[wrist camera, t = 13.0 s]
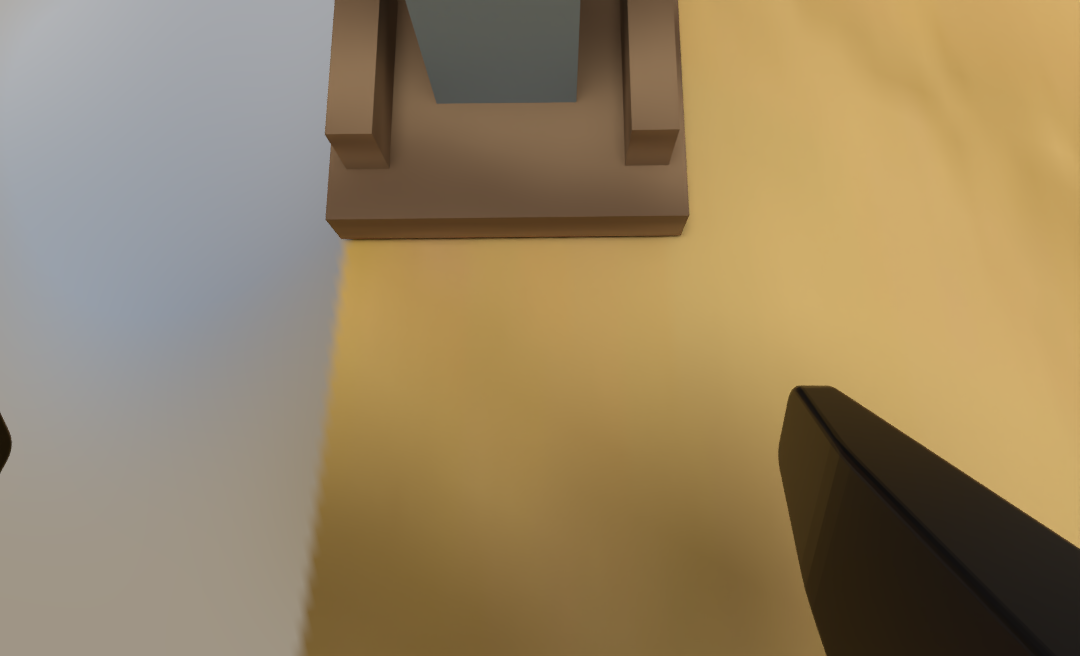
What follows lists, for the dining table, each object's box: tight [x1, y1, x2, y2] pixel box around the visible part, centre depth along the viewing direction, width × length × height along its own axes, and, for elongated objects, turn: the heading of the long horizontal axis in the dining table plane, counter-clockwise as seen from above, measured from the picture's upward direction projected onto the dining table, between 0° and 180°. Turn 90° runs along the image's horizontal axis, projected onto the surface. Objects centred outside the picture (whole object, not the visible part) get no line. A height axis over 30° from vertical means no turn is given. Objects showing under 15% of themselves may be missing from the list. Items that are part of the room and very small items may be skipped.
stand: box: [325, 0, 689, 239], centre depth 21 cm, size 12×10×4 cm
